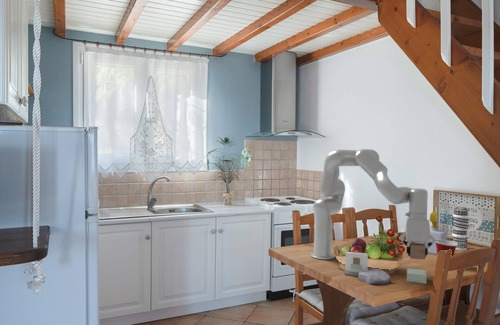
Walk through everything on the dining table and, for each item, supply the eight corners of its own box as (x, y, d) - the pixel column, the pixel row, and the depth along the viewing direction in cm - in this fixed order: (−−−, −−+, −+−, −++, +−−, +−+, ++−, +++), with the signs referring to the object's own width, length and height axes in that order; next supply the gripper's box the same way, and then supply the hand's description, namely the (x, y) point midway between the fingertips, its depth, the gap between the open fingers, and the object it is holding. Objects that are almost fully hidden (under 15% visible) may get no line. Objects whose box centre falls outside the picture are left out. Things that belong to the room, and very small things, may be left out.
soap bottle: (446, 254, 224) (448, 213, 223) (440, 255, 220) (442, 214, 219) (426, 249, 234) (427, 210, 233) (420, 251, 230) (421, 211, 229)
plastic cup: (457, 268, 196) (458, 245, 196) (433, 265, 201) (434, 242, 200) (456, 263, 206) (457, 240, 205) (433, 260, 210) (434, 238, 210)
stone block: (391, 286, 174) (375, 275, 183) (393, 276, 173) (377, 265, 182) (372, 291, 169) (356, 279, 177) (374, 281, 168) (357, 270, 176)
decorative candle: (447, 247, 239) (449, 206, 238) (455, 245, 245) (456, 205, 244) (463, 251, 232) (464, 208, 231) (470, 248, 238) (472, 207, 237)
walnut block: (409, 255, 182) (409, 242, 181) (423, 256, 180) (423, 243, 180) (410, 258, 176) (410, 245, 176) (425, 259, 174) (425, 246, 174)
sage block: (407, 276, 183) (407, 267, 183) (425, 279, 180) (426, 270, 180) (406, 281, 176) (407, 272, 176) (426, 284, 173) (426, 275, 173)
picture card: (345, 271, 188) (345, 250, 188) (367, 273, 185) (367, 252, 185) (344, 275, 182) (345, 253, 182) (367, 277, 179) (367, 255, 179)
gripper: (398, 216, 176) (397, 256, 177) (440, 218, 171) (439, 259, 172) (396, 213, 183) (395, 252, 184) (437, 216, 179) (436, 255, 179)
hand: (416, 255), depth 178 cm, fingers closed on walnut block, 6 cm apart
